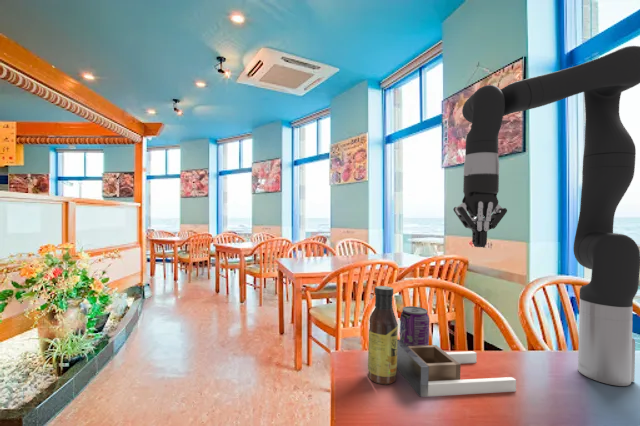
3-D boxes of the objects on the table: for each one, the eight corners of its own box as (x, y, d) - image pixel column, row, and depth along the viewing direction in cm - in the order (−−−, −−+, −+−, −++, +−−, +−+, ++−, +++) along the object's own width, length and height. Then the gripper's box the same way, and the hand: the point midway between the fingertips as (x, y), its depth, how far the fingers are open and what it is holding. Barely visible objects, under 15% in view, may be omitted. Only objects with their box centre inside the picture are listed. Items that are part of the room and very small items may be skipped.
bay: (473, 361, 81) (473, 337, 81) (516, 392, 67) (516, 362, 67) (393, 364, 78) (393, 339, 78) (420, 397, 64) (421, 367, 64)
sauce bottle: (397, 388, 67) (399, 292, 67) (366, 384, 68) (369, 290, 68) (396, 373, 73) (398, 285, 74) (368, 369, 75) (370, 283, 75)
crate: (435, 366, 77) (436, 345, 77) (460, 388, 67) (460, 364, 67) (403, 367, 76) (404, 346, 76) (423, 390, 66) (424, 365, 66)
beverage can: (403, 348, 87) (405, 304, 87) (431, 355, 84) (432, 308, 84) (395, 358, 81) (397, 310, 81) (424, 365, 78) (425, 315, 78)
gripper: (495, 177, 82) (493, 245, 81) (446, 174, 80) (445, 245, 79) (517, 173, 74) (516, 249, 74) (464, 170, 72) (462, 248, 72)
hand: (479, 246), depth 77 cm, fingers closed
